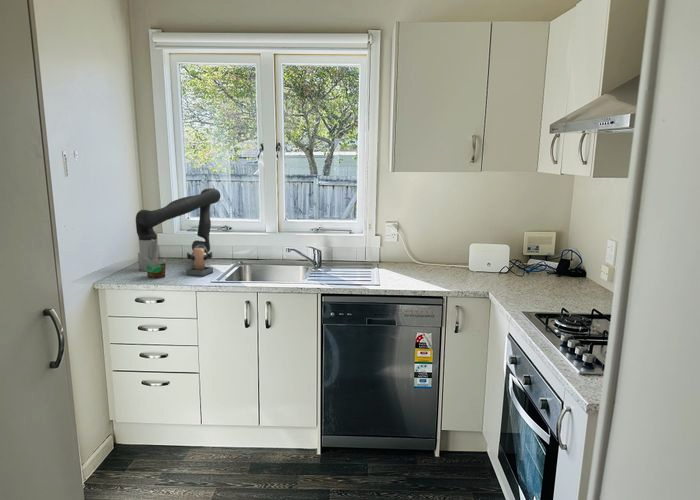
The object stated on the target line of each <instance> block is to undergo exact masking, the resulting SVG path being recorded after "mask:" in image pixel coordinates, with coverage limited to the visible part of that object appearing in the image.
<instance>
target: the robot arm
mask: <svg viewBox="0 0 700 500" xmlns="http://www.w3.org/2000/svg"><path fill="white" fill-rule="evenodd" d="M220 199H221V192H220V191H219V190H218V189H216V188H212V187H211V188H204V189H202V190H201V192H200V193H199V194H196V195H189V196H185V197H180V198H177V199H174V200H173V201H171V202H169V203H168V204H167V205H165V206H164V207H161V208H158V209H154V210H148V209H141V210H139V211H138V212H137V213H136V215H135V226H136V227H135V228H136V234H137V237H138V249H139V250H138V251H139V252H138V253H137V255H138V256H137V257H138V260H137V261H138V270H139V271H142V272H147V269H146V263H144V261H145V258H146V257H148V259H159V256H158V255H159V254H158V235H157V233H156V232H155V230H154V227H156V226H158V225H160V224H162V223H164V222H166V221H167V220H171V219H174V218H177V217H181V216H182V215H187V214H188V213H190V212H194V211H196V210H197V209H199V219H198V220H199V222H198V227H197V231H196V232H197V233H196V235H197V237H200V238H201V239H203V240H204V241H202V240H194V241H192V244H191V249H192V253H190V252H187V253H186V258H187V260H191V261H192V262H194V250H193V249H194V248H204V253H205V256H204V260H205V261H207V260H210V259H212V258H213V252H212V251H211V243H210V233H211V232H210V231H211V227H212V222H211V216H210V215H211V214H210V208H211V205H212V204H216V203H218V202H219V201H220Z"/></svg>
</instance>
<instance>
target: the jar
mask: <svg viewBox="0 0 700 500" xmlns="http://www.w3.org/2000/svg"><path fill="white" fill-rule="evenodd" d="M193 250H194V261H193V267H194V270H197V271H203V270H205V267H206V260H204V256H205V253H204V248H194V249H193ZM193 250H192V251H193Z"/></svg>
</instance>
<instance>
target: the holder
mask: <svg viewBox="0 0 700 500" xmlns="http://www.w3.org/2000/svg"><path fill="white" fill-rule="evenodd" d="M213 273H214V267H212V266H205V270H203V271H197V270H194V266H192V267H190V268H187V269H185V276H191V277H200V278H204V277H206V276H209V275H211V274H213Z"/></svg>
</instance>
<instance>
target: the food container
mask: <svg viewBox="0 0 700 500" xmlns="http://www.w3.org/2000/svg"><path fill="white" fill-rule="evenodd" d="M144 263H146V269H147V271H146V275H147V278H148V279H152V280H153V279H154V280H156V279H164V278H165V277H166V268H167V267H166V266H167V265H166V264H167V259H166V258H163V259H159V258H158V259H148V257H146V258H145V261H144Z"/></svg>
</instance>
